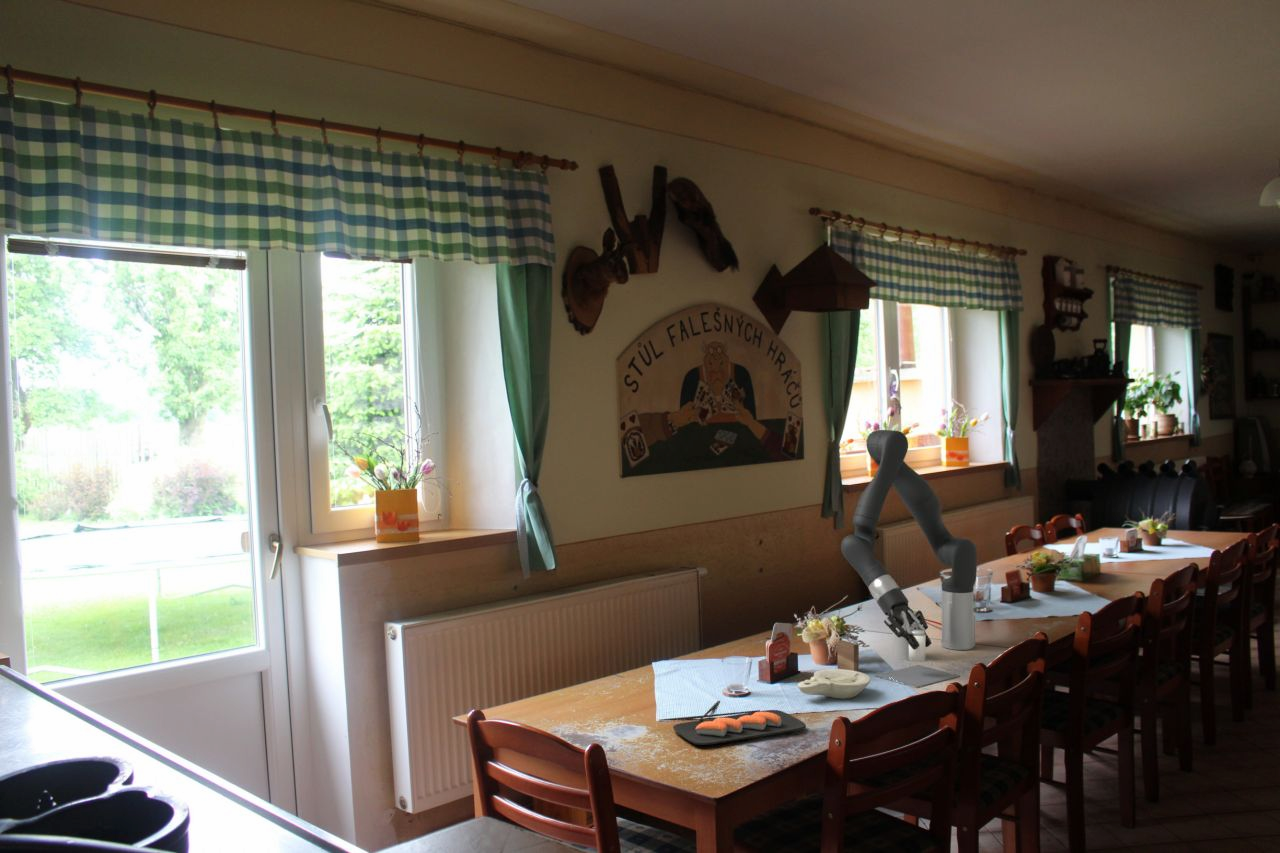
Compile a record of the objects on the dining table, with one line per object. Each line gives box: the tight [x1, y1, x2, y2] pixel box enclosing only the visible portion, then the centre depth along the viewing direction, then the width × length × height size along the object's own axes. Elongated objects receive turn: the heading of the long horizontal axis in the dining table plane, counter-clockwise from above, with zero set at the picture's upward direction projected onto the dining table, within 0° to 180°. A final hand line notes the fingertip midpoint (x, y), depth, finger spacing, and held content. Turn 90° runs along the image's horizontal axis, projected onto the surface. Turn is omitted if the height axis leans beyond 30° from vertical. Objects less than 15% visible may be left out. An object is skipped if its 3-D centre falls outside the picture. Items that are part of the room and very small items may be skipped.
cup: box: [892, 622, 918, 662], centre depth 289 cm, size 8×8×10 cm
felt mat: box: [874, 664, 961, 688], centre depth 269 cm, size 18×14×1 cm
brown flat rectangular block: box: [836, 640, 860, 672], centre depth 275 cm, size 2×6×8 cm, turn 35°
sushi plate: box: [658, 700, 807, 746], centre depth 232 cm, size 29×30×4 cm
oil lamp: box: [797, 668, 871, 700], centre depth 251 cm, size 21×14×5 cm
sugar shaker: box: [909, 629, 926, 663], centre depth 269 cm, size 4×4×8 cm
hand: (922, 646), depth 267 cm, fingers closed on sugar shaker, 4 cm apart
